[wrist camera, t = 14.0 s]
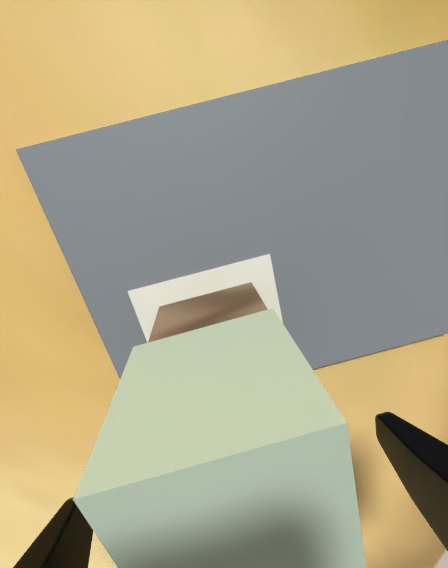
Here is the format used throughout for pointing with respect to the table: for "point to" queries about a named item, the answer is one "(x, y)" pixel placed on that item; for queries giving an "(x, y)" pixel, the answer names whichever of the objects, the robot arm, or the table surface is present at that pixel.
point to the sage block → (223, 457)
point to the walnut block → (206, 311)
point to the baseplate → (268, 207)
